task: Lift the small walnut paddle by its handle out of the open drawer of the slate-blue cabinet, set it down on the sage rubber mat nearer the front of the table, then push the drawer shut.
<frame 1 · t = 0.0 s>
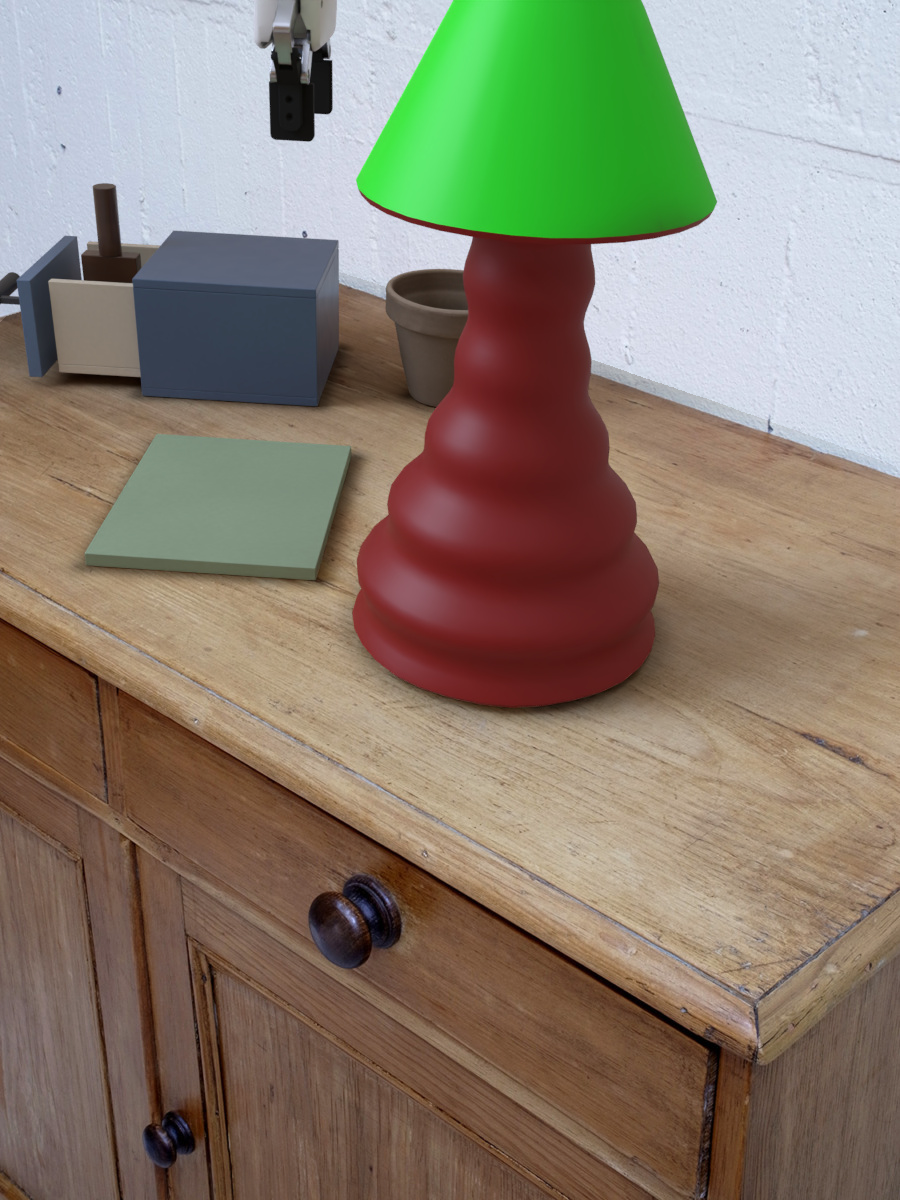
hand: (302, 125, 101), 24 cm above the table, tool pointing down, fingers open, 9 cm apart
drawer: (100, 307, 120), point 5 cm above the table, slide at 9.0 cm, touching paddle
mat: (229, 506, 99), on the table
paddle: (118, 338, 122), point 2 cm above the table, touching drawer
cabinet: (245, 370, 122), on the table
table lamp: (503, 627, 87), on the table
flower pot: (447, 397, 119), on the table
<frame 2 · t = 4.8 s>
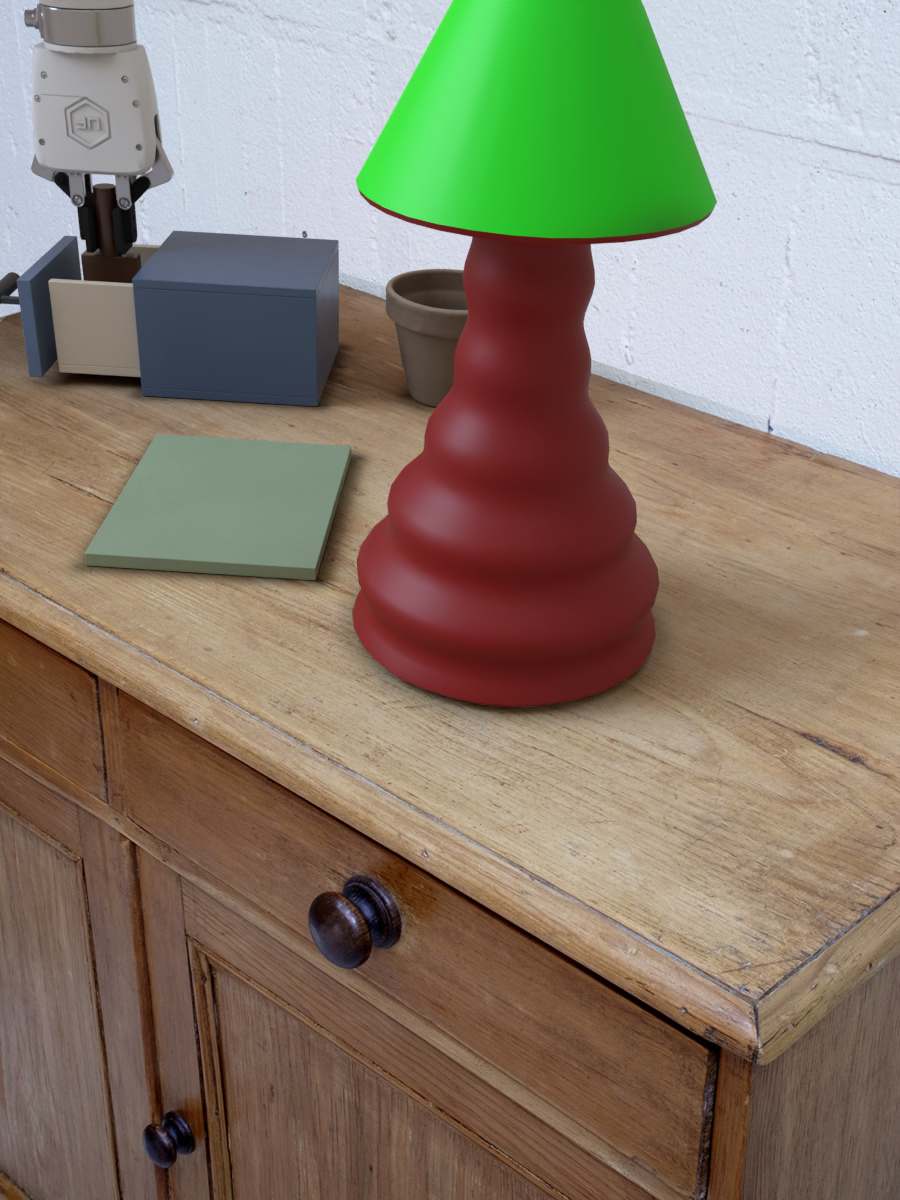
hand: (110, 247, 118), 11 cm above the table, tool pointing down, fingers closed on paddle, 2 cm apart
paddle: (118, 338, 122), point 2 cm above the table, touching drawer, gripper
everything else where it was.
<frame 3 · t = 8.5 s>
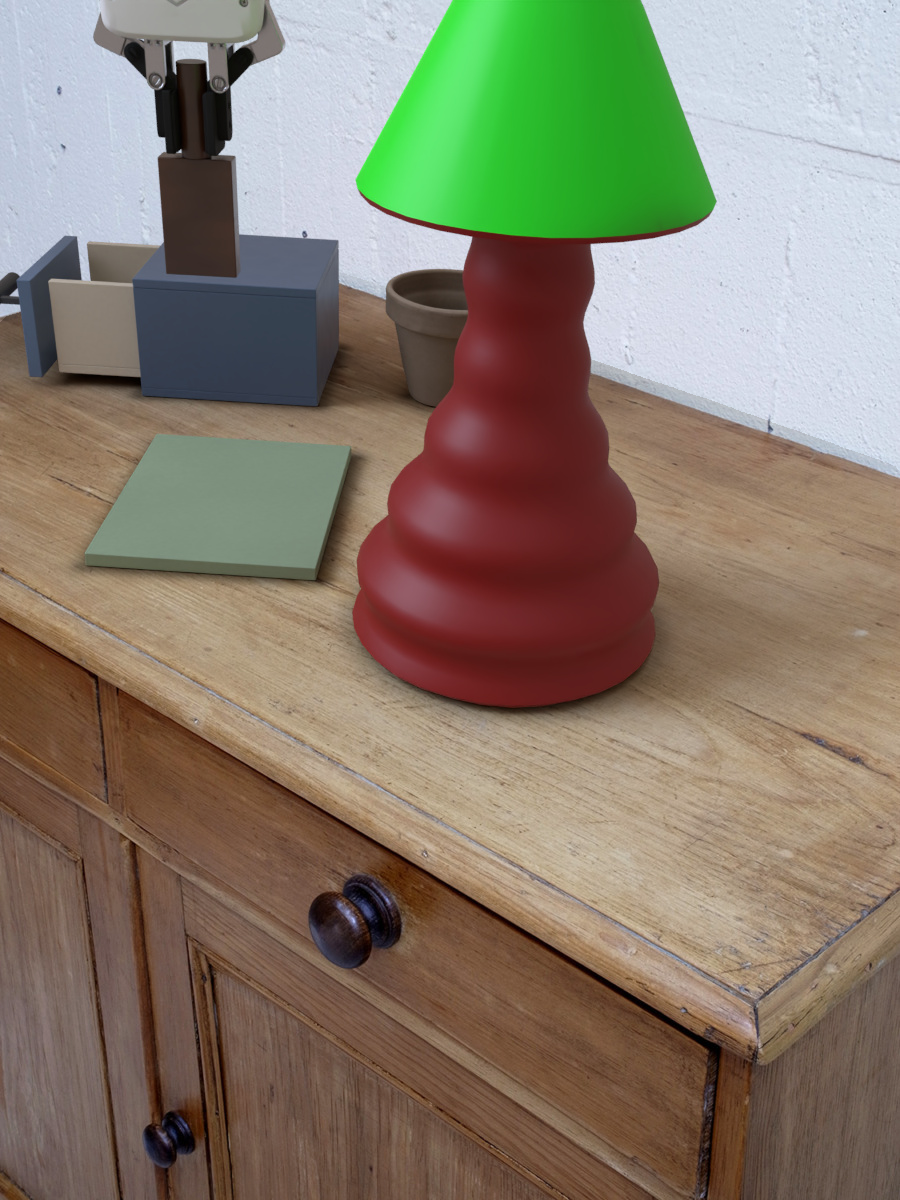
hand: (196, 148, 88), 25 cm above the table, tool pointing down, fingers closed on paddle
drawer: (100, 307, 120), point 5 cm above the table, slide at 9.0 cm
paddle: (203, 272, 93), point 17 cm above the table, touching gripper
everything else where it was.
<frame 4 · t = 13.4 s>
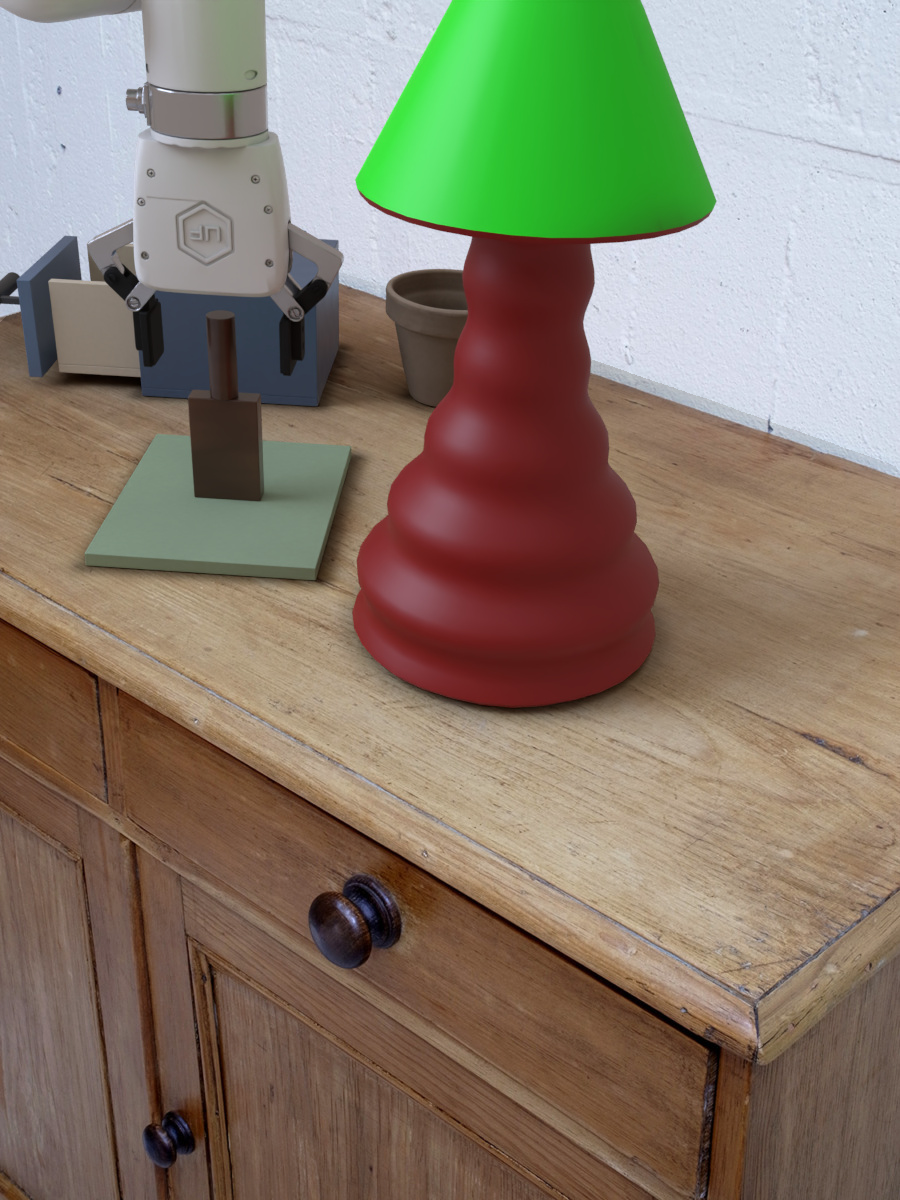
hand: (221, 364, 93), 11 cm above the table, tool pointing down, fingers open, 9 cm apart
paddle: (229, 494, 98), point 1 cm above the table, touching mat
everything else where it was.
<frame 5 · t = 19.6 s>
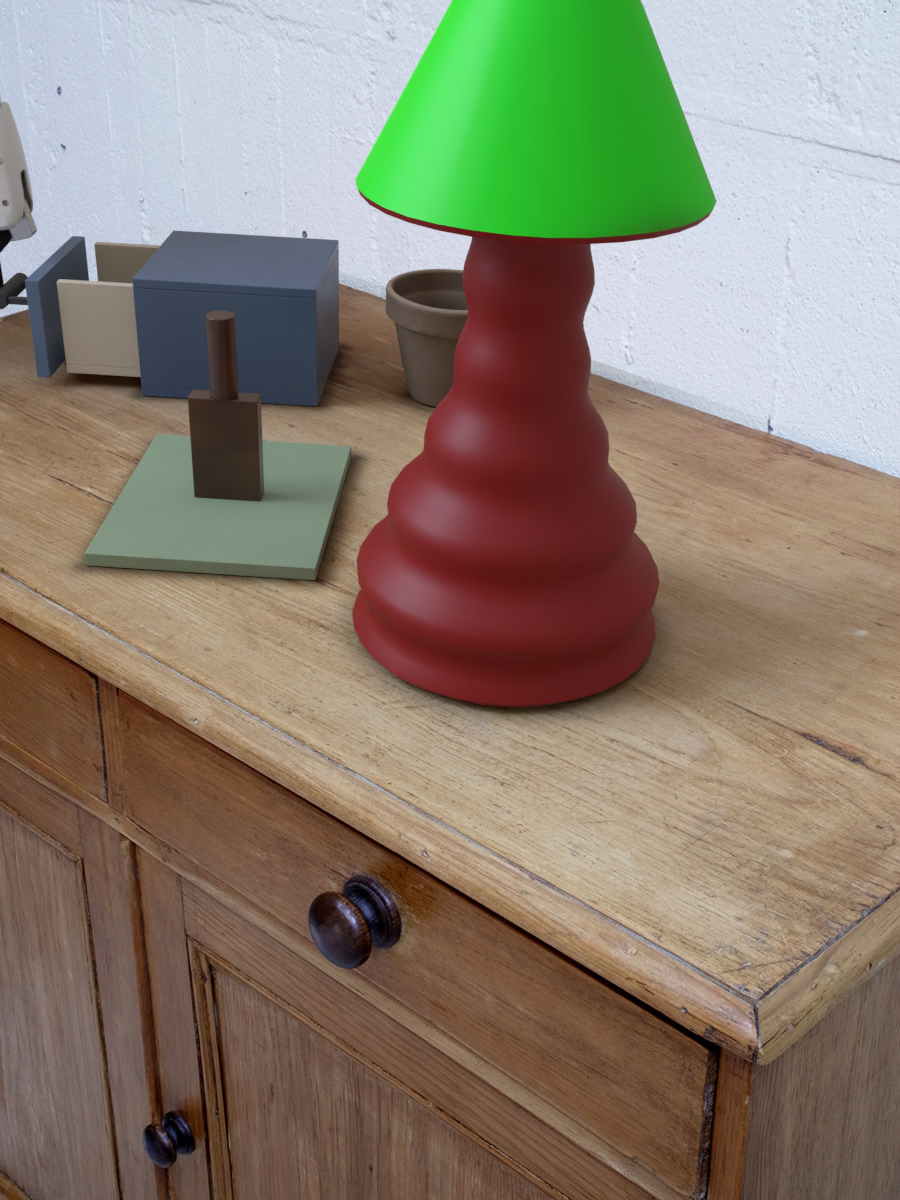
drawer: (107, 307, 120), point 5 cm above the table, slide at 8.3 cm, touching gripper
everything else where it was.
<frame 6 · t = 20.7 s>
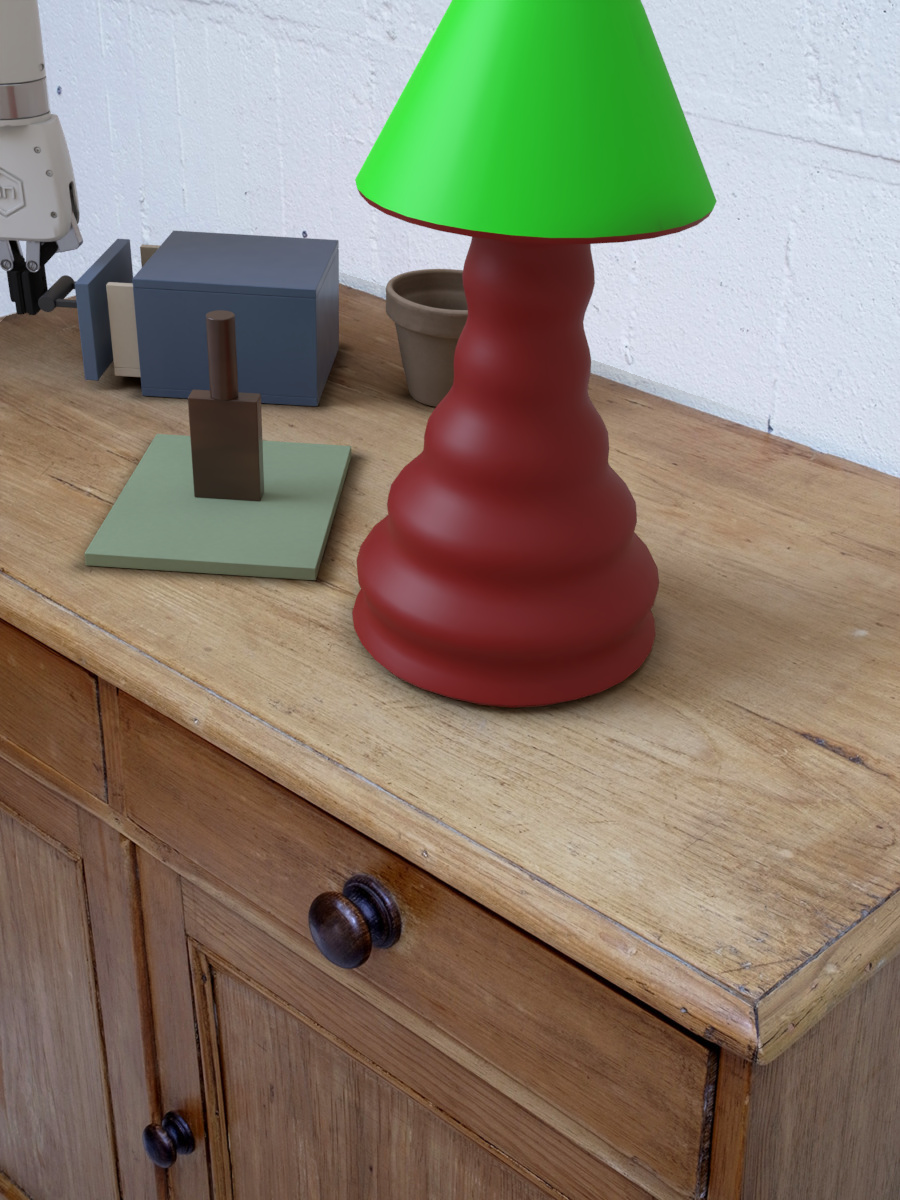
hand: (31, 309, 120), 5 cm above the table, tool pointing down, fingers closed
drawer: (154, 310, 120), point 5 cm above the table, slide at 4.0 cm, touching gripper
everything else where it was.
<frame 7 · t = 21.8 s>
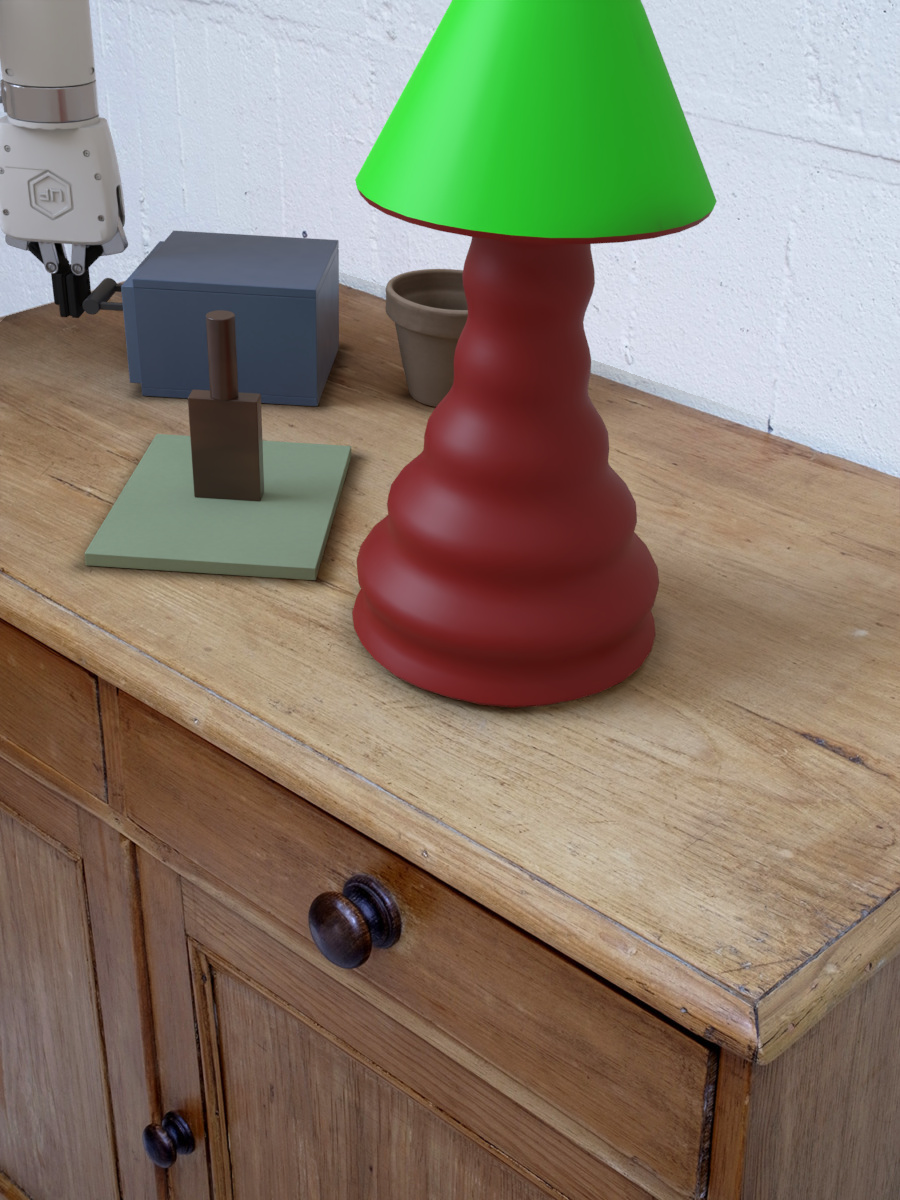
hand: (74, 312, 120), 5 cm above the table, tool pointing down, fingers closed
drawer: (198, 313, 119), point 5 cm above the table, slide at 0.0 cm, touching cabinet, gripper
everything else where it was.
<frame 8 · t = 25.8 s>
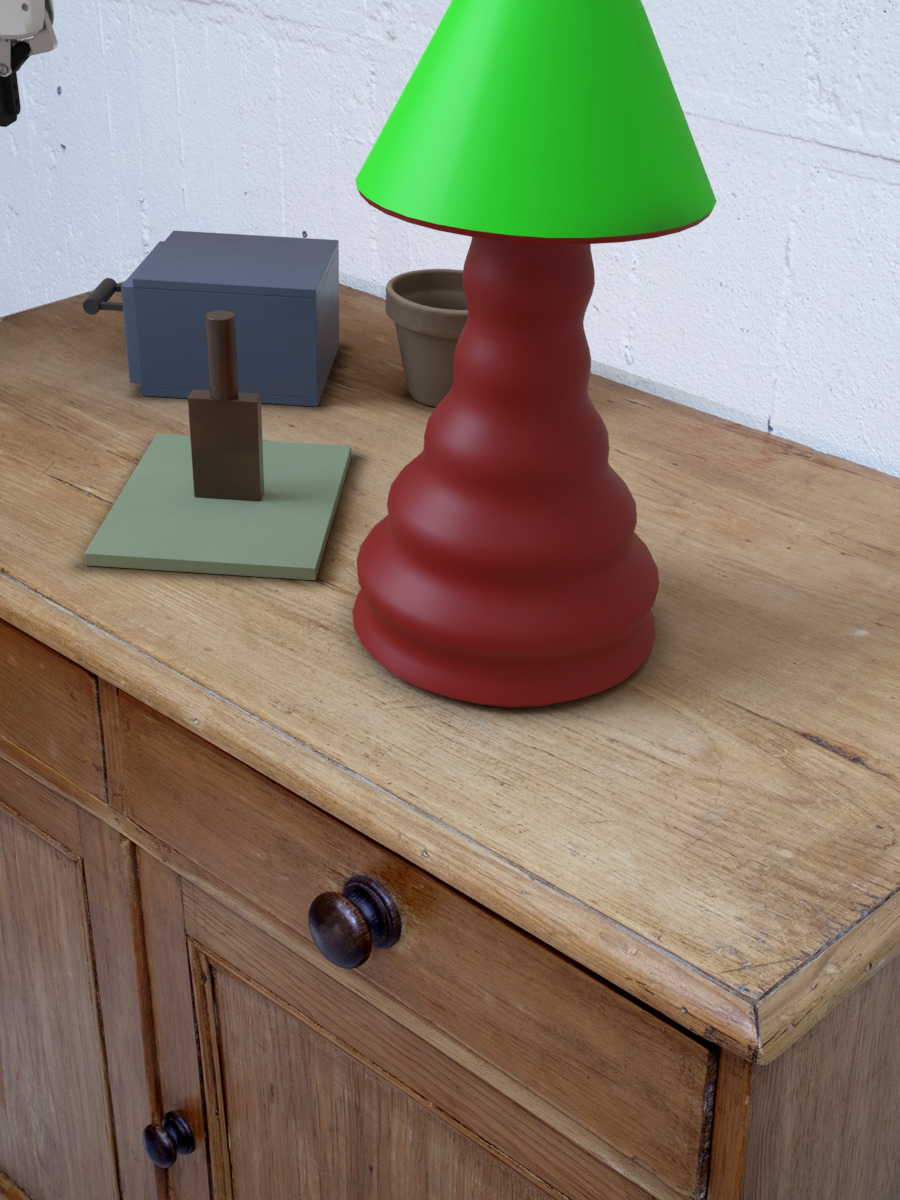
hand: (2, 122, 112), 21 cm above the table, tool pointing down, fingers closed
drawer: (198, 313, 119), point 5 cm above the table, slide at 0.0 cm, touching cabinet
everything else where it was.
at the end: paddle inside the target area on the mat (0.0 cm from its centre), point 1.0 cm above the mat's base; the gripper is holding nothing; drawer slide at 0.0 cm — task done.
